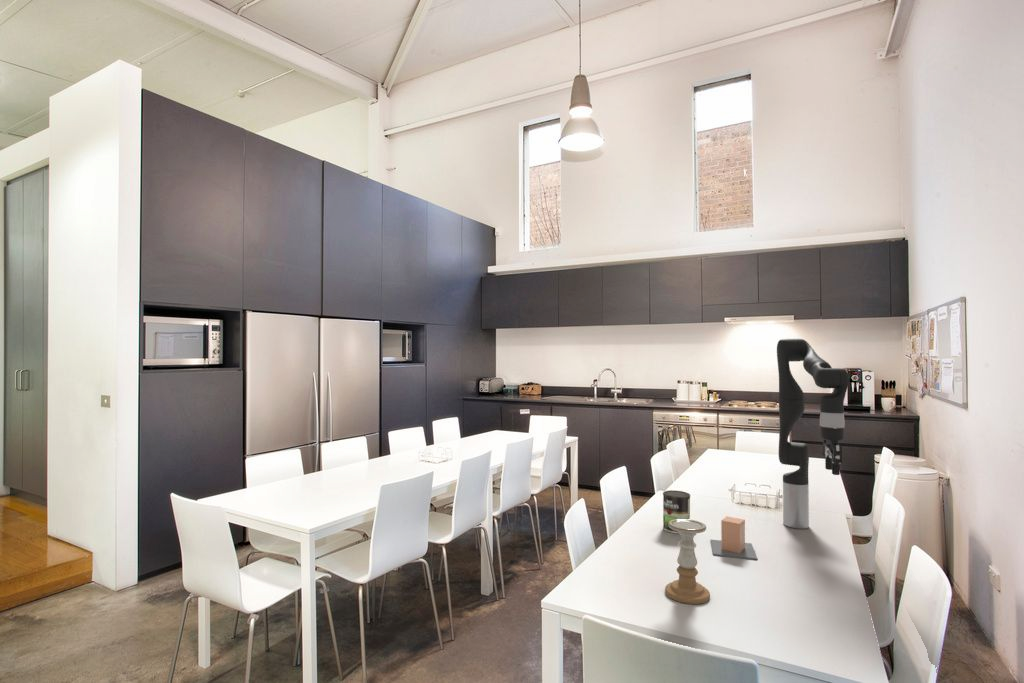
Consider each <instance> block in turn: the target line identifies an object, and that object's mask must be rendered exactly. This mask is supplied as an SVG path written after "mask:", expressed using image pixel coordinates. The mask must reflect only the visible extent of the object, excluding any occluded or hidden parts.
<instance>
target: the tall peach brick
mask: <svg viewBox="0 0 1024 683" xmlns="http://www.w3.org/2000/svg"><path fill="white" fill-rule="evenodd" d="M720 526H721V542H722V549H724V550H728V551H733V552H737V553H741V552H742V551H743V550H744V549H745V543H746V520H745V519H744V518H738V517H733V516H725V517H724V518H723V519H722V520H721V525H720Z"/></svg>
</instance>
